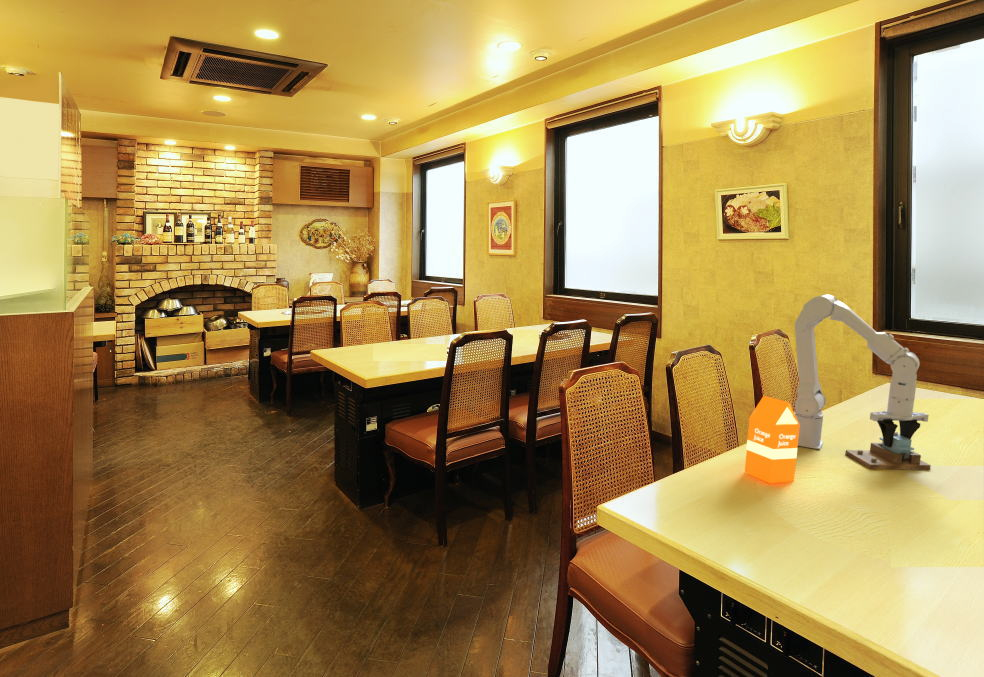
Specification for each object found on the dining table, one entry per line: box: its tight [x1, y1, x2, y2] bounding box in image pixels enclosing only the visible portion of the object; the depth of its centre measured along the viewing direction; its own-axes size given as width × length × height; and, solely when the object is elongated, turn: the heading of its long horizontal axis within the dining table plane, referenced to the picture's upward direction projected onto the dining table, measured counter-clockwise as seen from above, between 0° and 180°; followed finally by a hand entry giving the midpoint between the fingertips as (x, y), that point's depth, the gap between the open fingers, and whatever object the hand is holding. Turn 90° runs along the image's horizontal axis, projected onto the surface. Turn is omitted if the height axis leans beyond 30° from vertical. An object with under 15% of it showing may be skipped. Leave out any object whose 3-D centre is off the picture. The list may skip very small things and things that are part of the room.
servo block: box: [879, 431, 915, 458], centre depth 163 cm, size 9×4×6 cm, turn 0°
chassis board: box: [845, 442, 932, 470], centre depth 163 cm, size 16×11×4 cm
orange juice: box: [744, 395, 800, 484], centre depth 151 cm, size 8×9×20 cm
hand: (895, 446), depth 163 cm, fingers closed on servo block, 4 cm apart
